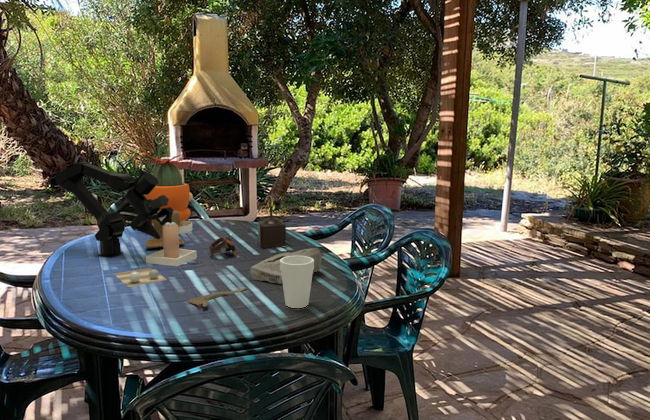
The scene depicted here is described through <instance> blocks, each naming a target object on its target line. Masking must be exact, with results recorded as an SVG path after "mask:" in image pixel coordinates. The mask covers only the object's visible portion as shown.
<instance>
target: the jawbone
mask: <svg viewBox="0 0 650 420" xmlns="http://www.w3.org/2000/svg"><path fill="white" fill-rule="evenodd" d="M244 291H248V287H247V286H245V287H243V288H239V289H236V290H231V291H219V292H213V293H210V294H206V295H205V294H204V295H202V296H198V297H195V298H194V297H193V298H191V299H189V300H188V303H189V304H190V305H191V304H192V305H196V306H197V307H198V309H202V307H203V308H206V307H207V306H208V305H209V301H210V300H213V299H215V298H219V297H222V296H227V295H232V294H236V293H241V292H244Z"/></svg>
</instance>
